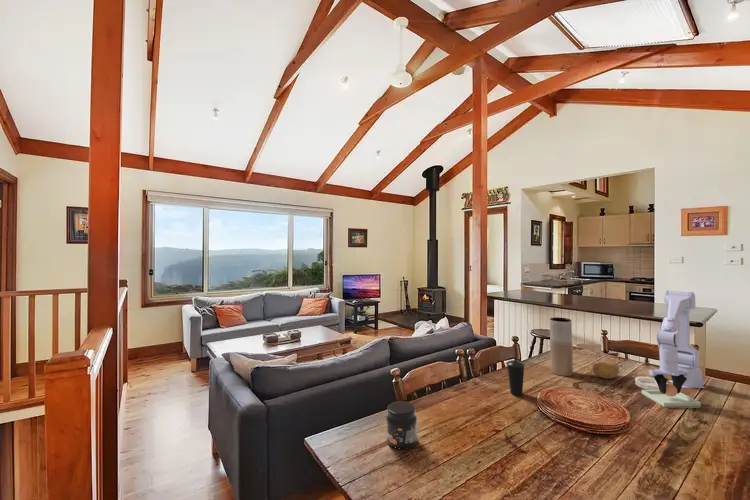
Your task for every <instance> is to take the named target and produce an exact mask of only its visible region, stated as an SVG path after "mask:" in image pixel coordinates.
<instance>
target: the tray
mask: <svg viewBox="0 0 750 500" xmlns="http://www.w3.org/2000/svg"><path fill="white" fill-rule="evenodd" d="M641 395H643V396H645V397H646V398H648V399H649V400H651V401H653V402H655V403H657V404H658V405H660V406H662V408H665V409H666V408H668V409H670V408H675V409H676V408H677V409H681V408H683V409H687V408H688V409H691V408H692V409H693V408H694V409H697V408H698V409H699V408H701V407H702V404H701V403H702V402H700V401H699V400H696V399H695V398H692V397H690V396H689V395H686V394H685V393H682V392H680V393H679V394H678V393H677V394H676V395H675V396H667V395H665V394H663V393H661V392H660V390H647V389H641Z"/></svg>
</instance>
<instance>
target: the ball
mask: <svg viewBox="0 0 750 500" xmlns="http://www.w3.org/2000/svg"><path fill="white" fill-rule="evenodd" d="M676 394H677V389H676V387H675V386H674V385H673V383H672V384H671V383H669V382H667V384H666V393H665V395H667V396H675V395H676Z"/></svg>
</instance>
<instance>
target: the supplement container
mask: <svg viewBox="0 0 750 500" xmlns="http://www.w3.org/2000/svg"><path fill="white" fill-rule="evenodd" d="M385 418H386V419H385V420H386V442H387V443H388V445H389V444H390V445H391V446H390V445H389V446H390V447H392V446H393V447H396V448H400V449H399V450H401V449H405V450H407V449H406V448H409V449H412V448H413V447H415V446H416V444H417V442H418V425H417V424H418V423H417V421H418V416H417V415H416V407H415V405H414V404H413V403H411V402H409V401H403V400H401V401H399V400H398V401H393V402H391V403H389V404H388V406H387V414H386V417H385ZM414 445H415V446H414ZM393 447H392V448H393ZM411 447H412V448H411ZM396 448H395V449H396Z"/></svg>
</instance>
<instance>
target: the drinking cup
mask: <svg viewBox="0 0 750 500" xmlns="http://www.w3.org/2000/svg"><path fill="white" fill-rule="evenodd" d="M513 352H514V354H513V355H514V359H511V360H508V361H506V367H507V373H508V382H509V383H508V384H509V389H510V394H511V395H512V396H515V397H522V396H523V392H524V391H523V390H524V389H523V388H524V374H525V365H526V364H525V362H522V361H520V360H517V349H516V348H514V349H513Z"/></svg>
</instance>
